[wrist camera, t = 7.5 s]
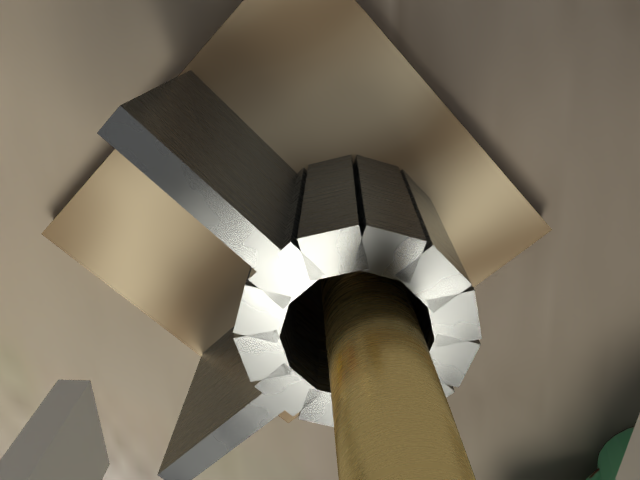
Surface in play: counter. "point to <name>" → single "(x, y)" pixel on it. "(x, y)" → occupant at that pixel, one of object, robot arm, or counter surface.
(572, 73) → the counter surface
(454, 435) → the hinge pin
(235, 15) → the mounting board
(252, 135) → the grey piece
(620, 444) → the mug
